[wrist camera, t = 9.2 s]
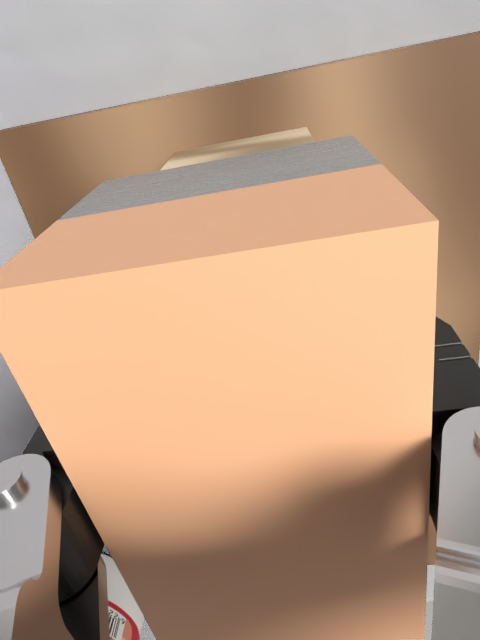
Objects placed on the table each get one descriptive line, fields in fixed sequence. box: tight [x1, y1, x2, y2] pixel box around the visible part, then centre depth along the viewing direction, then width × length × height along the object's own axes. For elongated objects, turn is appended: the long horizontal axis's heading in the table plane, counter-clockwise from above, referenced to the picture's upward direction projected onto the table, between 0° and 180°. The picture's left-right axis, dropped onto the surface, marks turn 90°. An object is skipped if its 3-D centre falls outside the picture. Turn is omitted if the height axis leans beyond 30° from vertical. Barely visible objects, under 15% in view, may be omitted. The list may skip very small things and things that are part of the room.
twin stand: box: [0, 31, 480, 565], centre depth 18 cm, size 15×24×5 cm, turn 10°
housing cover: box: [0, 164, 439, 640], centre depth 8 cm, size 8×5×2 cm, turn 10°
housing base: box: [57, 135, 381, 221], centre depth 10 cm, size 8×5×2 cm, turn 10°
